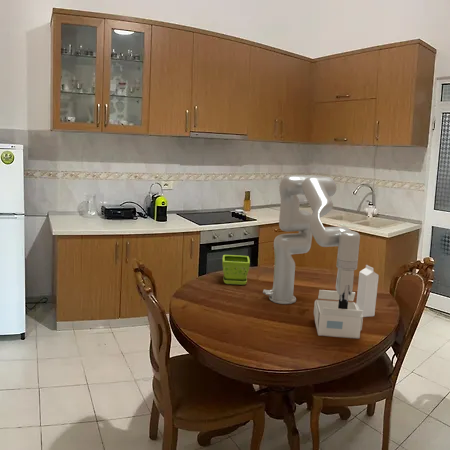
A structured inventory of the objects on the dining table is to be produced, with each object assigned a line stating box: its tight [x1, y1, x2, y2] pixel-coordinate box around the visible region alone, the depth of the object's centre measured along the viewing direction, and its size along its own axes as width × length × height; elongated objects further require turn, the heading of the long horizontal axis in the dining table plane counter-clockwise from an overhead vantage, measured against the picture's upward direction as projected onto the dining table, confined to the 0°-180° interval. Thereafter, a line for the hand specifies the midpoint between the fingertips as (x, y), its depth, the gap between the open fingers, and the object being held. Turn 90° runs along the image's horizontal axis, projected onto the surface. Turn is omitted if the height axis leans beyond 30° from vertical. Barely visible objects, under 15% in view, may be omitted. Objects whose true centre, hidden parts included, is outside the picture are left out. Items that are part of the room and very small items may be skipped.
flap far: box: [317, 289, 356, 302], centre depth 204 cm, size 15×5×1 cm
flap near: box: [322, 308, 363, 317], centre depth 188 cm, size 15×5×1 cm
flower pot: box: [221, 254, 251, 286], centre depth 253 cm, size 14×14×13 cm
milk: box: [355, 264, 380, 318], centre depth 215 cm, size 6×6×22 cm
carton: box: [313, 299, 364, 340], centre depth 199 cm, size 17×16×9 cm
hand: (342, 310), depth 188 cm, fingers closed
